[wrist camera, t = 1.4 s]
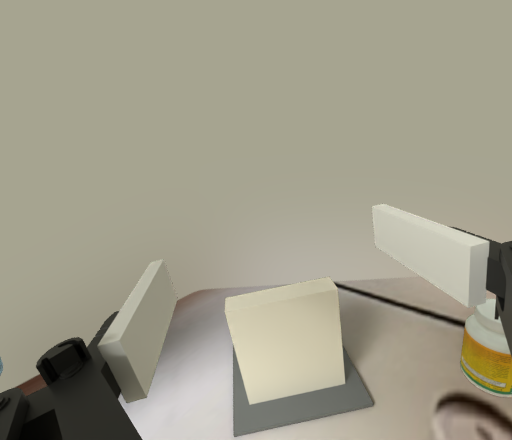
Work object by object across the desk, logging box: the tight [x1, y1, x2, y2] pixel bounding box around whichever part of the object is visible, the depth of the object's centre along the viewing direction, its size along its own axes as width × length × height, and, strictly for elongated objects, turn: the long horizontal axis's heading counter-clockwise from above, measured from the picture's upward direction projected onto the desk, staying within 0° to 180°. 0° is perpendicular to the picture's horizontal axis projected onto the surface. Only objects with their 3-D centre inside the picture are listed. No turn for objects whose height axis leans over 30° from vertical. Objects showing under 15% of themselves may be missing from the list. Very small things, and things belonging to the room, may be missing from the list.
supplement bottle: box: [460, 299, 512, 397], centre depth 28 cm, size 5×5×10 cm
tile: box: [225, 277, 345, 405], centre depth 30 cm, size 2×12×14 cm, turn 96°
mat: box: [233, 345, 373, 437], centre depth 38 cm, size 20×16×1 cm
